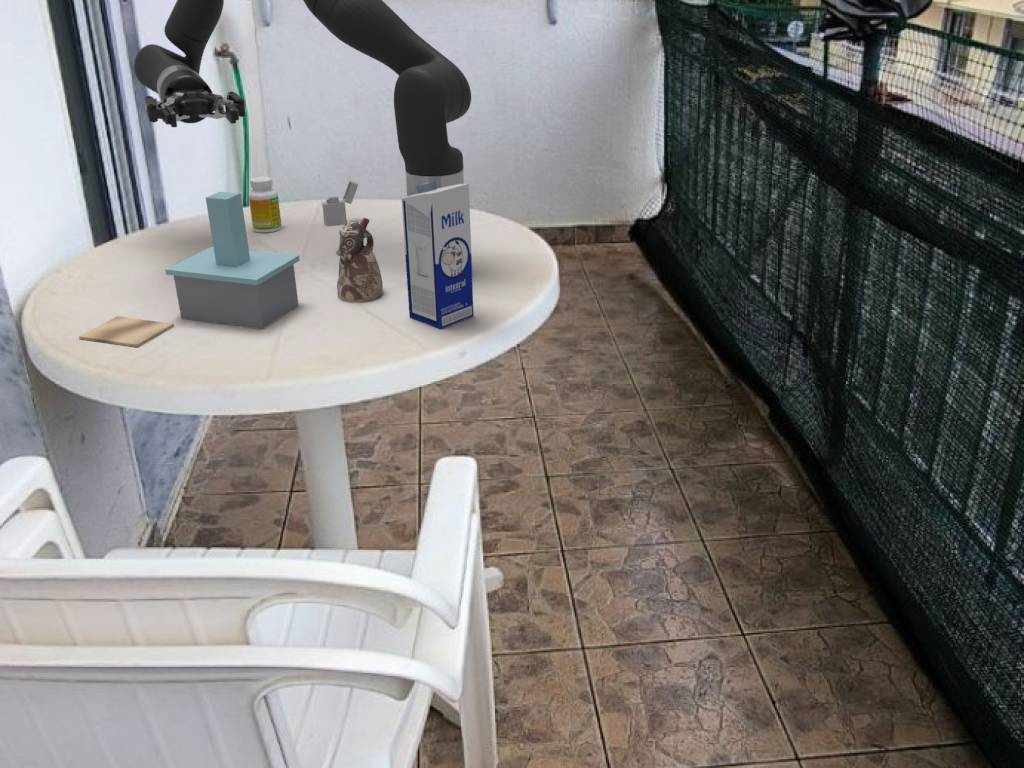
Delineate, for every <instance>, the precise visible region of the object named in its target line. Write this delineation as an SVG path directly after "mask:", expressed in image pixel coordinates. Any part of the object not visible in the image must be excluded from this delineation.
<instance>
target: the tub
mask: <svg viewBox="0 0 1024 768" xmlns="http://www.w3.org/2000/svg"><path fill="white" fill-rule="evenodd" d="M173 279H174V286H175V291H176V296H177V302H178V307H179V312H180V318H181V319H186V320H191V321H192V320H193V321H199V322H208V323H215V324H221V325H229V326H235V327H236V326H237V327H245V328H254V329H258V330H259V329H261V330H263V329H264V328H266V327H268V326H269V325H270V324H272V323H273V322H275V321H277V320H278V319H279V318H281V317H283V316H284V315H286V314H287V313H288V312H290V311H292V310H293V309H294V308H296V307H298V306H299V298H298V290H297V280H296V274H295V264H293V265H291V266H289V267H288V268H286V269H284V270H283V271H281V272H279V273H278V274H276V275H274V276H272V277H271V278H269V279H267V280H266V281H264V282H262V283H261V284H259V285H251V284H242V283H234V282H225V281H216V280H208V279H199V278H191V277H182V276H173Z"/></svg>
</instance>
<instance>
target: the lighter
mask: <svg viewBox="0 0 1024 768" xmlns="http://www.w3.org/2000/svg"><path fill="white" fill-rule="evenodd" d="M358 186H359V184H358V183H357V182H356V181H353V180H349V181H348V183H347V187H346V188H345V192H344V195H343V198H342V199H339V197H338V195H337V196H329V197H328V198H326V200H325V201H326V202H322V203H321V206H322V215H323V224H324V226H325V225H326V227H333V225H334V226H339V225H340V224H341V225H345V224H346V223H347V222H348V219H347V210H346V203H347V204H350V205H352V203H353V201H354V197H355V195H356V191H357V189H358Z"/></svg>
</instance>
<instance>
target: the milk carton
mask: <svg viewBox="0 0 1024 768" xmlns="http://www.w3.org/2000/svg"><path fill="white" fill-rule="evenodd" d="M416 188H417V192H418V194H415V195H411V196H407V195H406V196H404V197H401V198H400V199H401V208H402V209H401V210H402V223H403V236H404V237H403V239H404V240H403V241H404V242H403V243H404V253H405V268H406V271H405V272H406V282H407V283H406V284H407V300H408V312H409V314H408V315H409V319H412V320H415V321H418V322H420V323H422V324H425V325H427V326H431V327H434V328H436V329H438V330H441V329H444V328H447V327H449V326H452V325H455V324H457V323H459V322H462V321H464V320H467V319H469V318H472V317H474V293H473V265H472V264H473V261H472V258H473V257H472V237H471V236H472V233H471V231H472V230H471V209H470V208H471V207H470V203H471V202H470V183H464V184H457V185H452V186H448V187H443V188H438V189H437V186H436V182H430V183H425V184H422V185H418V186H416Z"/></svg>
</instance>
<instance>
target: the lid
mask: <svg viewBox="0 0 1024 768" xmlns="http://www.w3.org/2000/svg"><path fill="white" fill-rule="evenodd" d="M205 203H206V211H207V214H208V221H209V228H210V229H209V230H210V234H211V240H212V246H210V247H208V248H206V249H204V250H202V251H199V252H198V253H196V254H194V255H191V256H190V257H188V258H185V259H184V260H181V261H180V262H177V263H175V264H174V265H171V266H169V267H167V268H165V269H164V270H165V271H164V272H165V274H166V276H173V277H174V276H182V277H191V278H199V279H208V280H216V281H225V282H234V283H242V284H251V285H259V284H261V283H262V282H264V281H266V280H267V279H269V278H271V277H272V276H274V275H276V274H278V273H279V272H281V271H283V270H284V269H286V268H288V267H289V266H291V265H293V264H294V265H295V264H296V263H298V262H299V261H301V259H300V254H299V255H298V254H288V253H278V252H270V251H260V250H253V249H252V250H250V249H249V248H250V247H249V241H248V237H247V236H248V235H247V228H246V221H245V213H244V207H243V200H242V193H239V192H232V191H231V192H229V191H219V192H216V193H214V194H211V195H209V196H207V197H205Z"/></svg>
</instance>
